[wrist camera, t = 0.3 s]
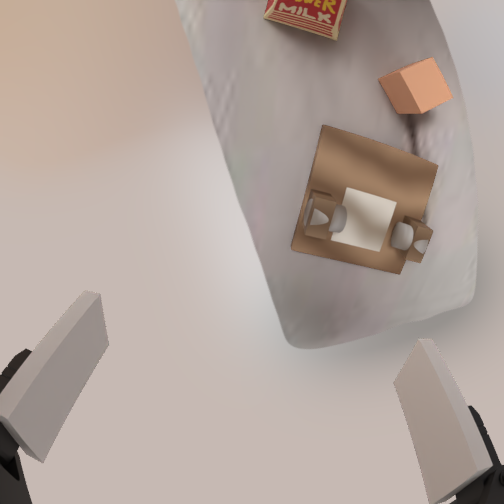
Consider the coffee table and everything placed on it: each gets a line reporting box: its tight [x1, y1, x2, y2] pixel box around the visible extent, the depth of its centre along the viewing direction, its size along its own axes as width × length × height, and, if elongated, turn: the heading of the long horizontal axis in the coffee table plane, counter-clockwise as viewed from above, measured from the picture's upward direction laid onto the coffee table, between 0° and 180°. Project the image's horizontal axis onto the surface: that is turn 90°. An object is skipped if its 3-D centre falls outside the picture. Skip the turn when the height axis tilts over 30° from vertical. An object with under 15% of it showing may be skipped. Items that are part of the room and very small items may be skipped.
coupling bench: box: [291, 125, 439, 274], centre depth 34 cm, size 16×16×6 cm
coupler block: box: [378, 57, 453, 114], centre depth 27 cm, size 5×5×7 cm
